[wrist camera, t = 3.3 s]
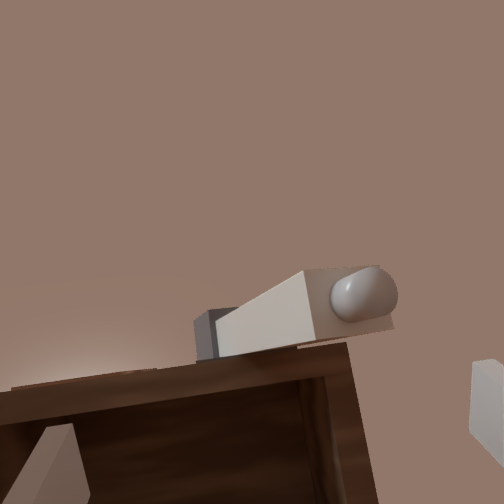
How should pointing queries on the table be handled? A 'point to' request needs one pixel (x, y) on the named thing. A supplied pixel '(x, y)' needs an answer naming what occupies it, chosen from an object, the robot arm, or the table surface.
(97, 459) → the walnut shelf
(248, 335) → the bar
